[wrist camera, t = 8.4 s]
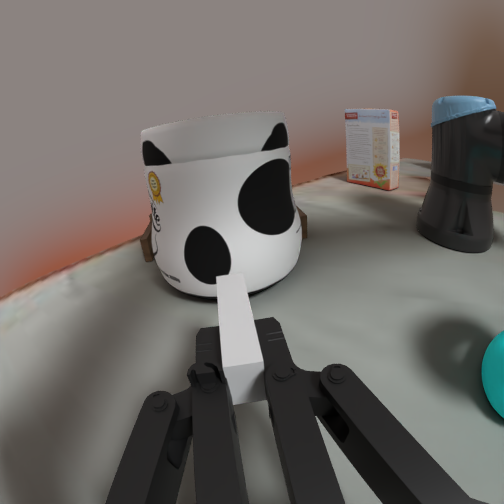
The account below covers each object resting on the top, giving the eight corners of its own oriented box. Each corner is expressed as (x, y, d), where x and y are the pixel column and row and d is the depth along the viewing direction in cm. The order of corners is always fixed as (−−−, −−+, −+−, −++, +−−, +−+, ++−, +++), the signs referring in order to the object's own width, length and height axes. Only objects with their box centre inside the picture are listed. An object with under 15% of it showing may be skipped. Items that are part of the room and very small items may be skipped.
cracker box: (399, 188, 64) (399, 110, 55) (389, 191, 61) (389, 108, 52) (357, 179, 74) (356, 109, 65) (346, 182, 72) (343, 108, 62)
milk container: (144, 271, 35) (114, 139, 27) (242, 231, 45) (230, 119, 37) (210, 340, 23) (168, 119, 15) (330, 266, 33) (330, 111, 25)
